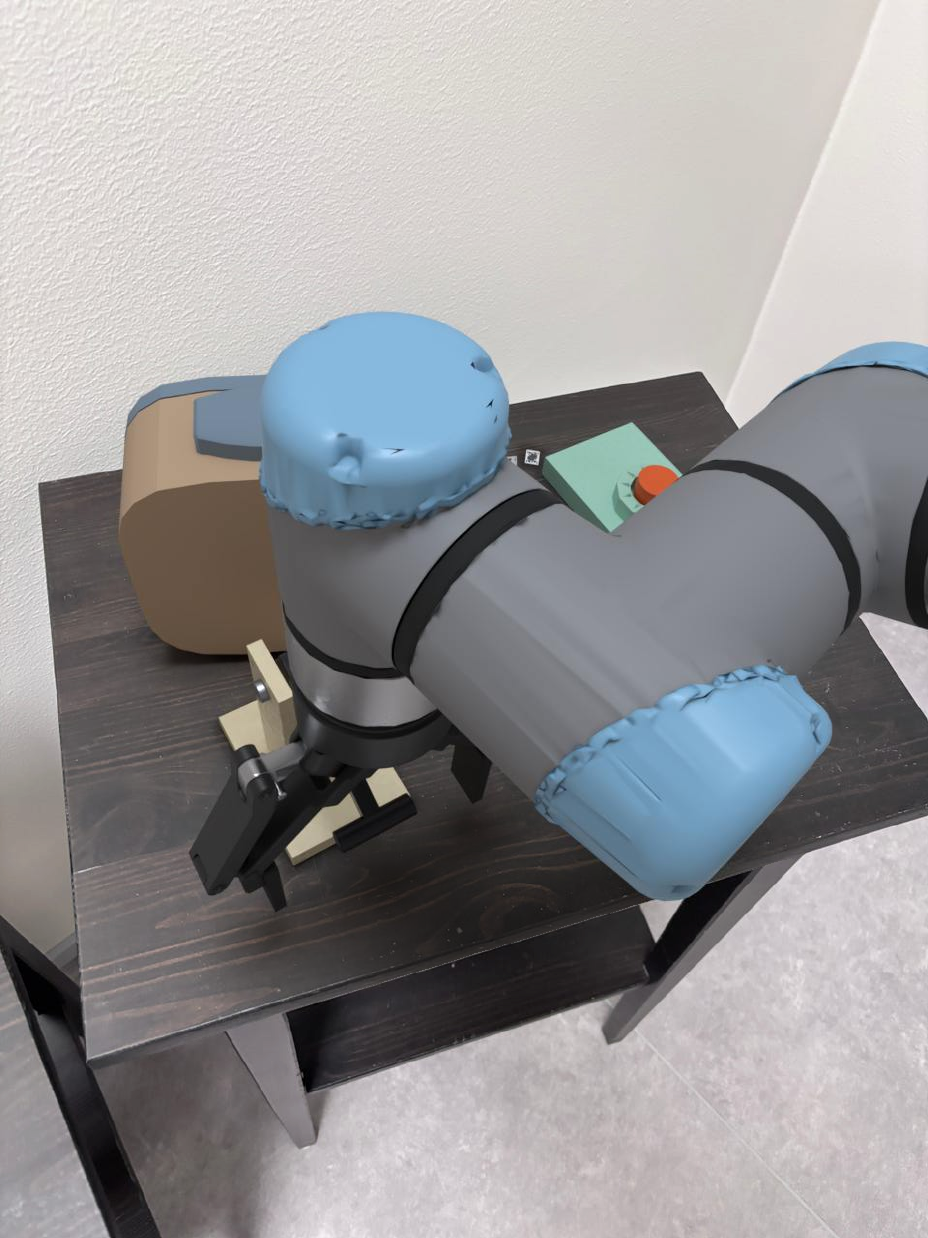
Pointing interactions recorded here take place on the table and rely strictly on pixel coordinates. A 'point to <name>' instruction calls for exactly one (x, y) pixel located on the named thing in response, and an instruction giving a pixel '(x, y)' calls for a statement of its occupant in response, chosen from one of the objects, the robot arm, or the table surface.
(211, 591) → the alarm clock
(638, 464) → the button box
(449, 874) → the table surface
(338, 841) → the lever
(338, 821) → the hinged lever switch
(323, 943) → the table surface
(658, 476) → the button
